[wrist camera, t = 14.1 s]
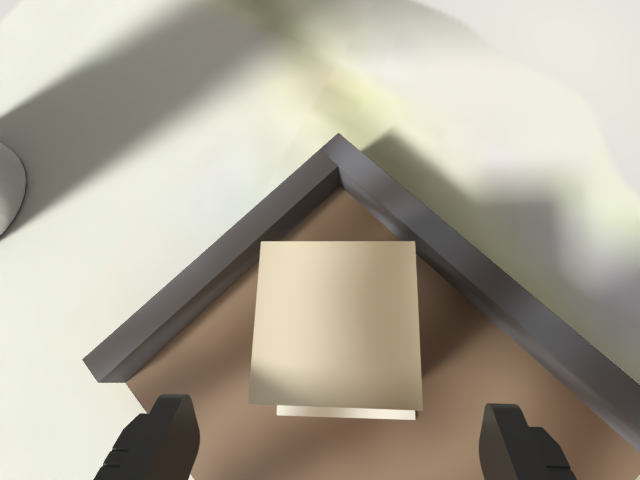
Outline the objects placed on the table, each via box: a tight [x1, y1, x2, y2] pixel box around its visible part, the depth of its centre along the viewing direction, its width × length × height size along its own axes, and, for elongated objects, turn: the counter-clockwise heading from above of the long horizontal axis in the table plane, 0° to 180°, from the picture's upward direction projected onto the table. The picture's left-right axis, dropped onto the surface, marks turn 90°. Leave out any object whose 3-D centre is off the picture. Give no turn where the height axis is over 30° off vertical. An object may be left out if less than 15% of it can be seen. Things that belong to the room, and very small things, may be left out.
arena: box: [82, 133, 640, 480], centre depth 21 cm, size 22×18×4 cm
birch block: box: [248, 241, 423, 411], centre depth 17 cm, size 5×5×10 cm
